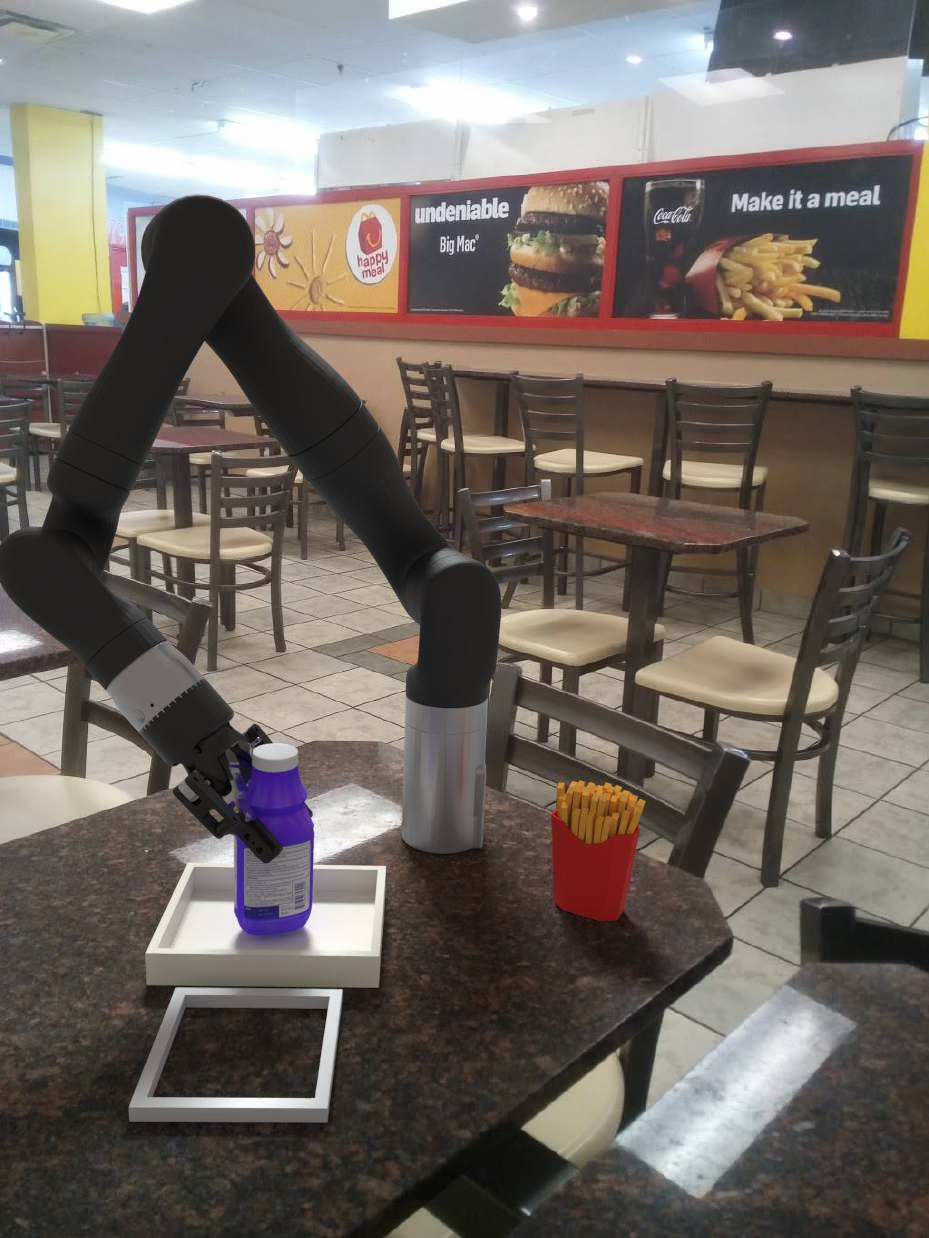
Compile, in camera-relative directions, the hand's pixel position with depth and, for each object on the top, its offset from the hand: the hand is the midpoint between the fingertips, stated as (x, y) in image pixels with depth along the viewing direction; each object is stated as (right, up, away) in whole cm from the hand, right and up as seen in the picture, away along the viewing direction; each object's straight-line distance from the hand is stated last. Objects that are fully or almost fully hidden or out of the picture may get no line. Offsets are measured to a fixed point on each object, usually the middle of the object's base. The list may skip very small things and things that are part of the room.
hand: (290, 838), depth 92 cm
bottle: (-2, -9, +3) cm, 9 cm away
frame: (-1, -14, -14) cm, 20 cm away
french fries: (+29, -9, +10) cm, 32 cm away
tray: (-2, -10, +3) cm, 10 cm away
